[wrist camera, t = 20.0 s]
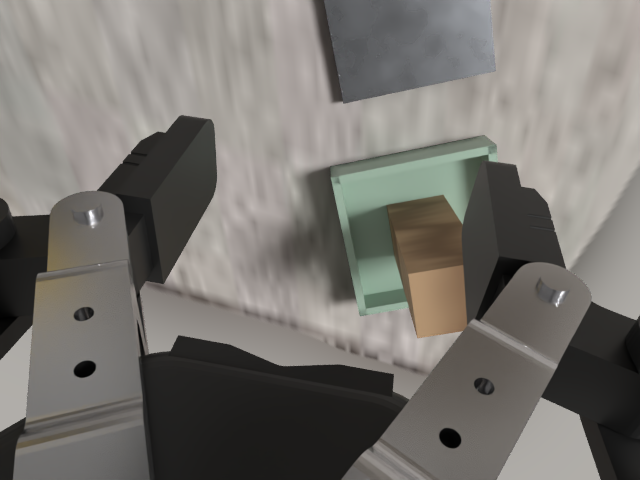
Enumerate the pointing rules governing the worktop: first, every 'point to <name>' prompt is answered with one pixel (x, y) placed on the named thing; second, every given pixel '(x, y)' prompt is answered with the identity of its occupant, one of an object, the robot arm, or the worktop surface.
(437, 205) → the brown wooden block
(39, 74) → the worktop surface
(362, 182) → the tray
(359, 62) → the crank bed
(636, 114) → the worktop surface
